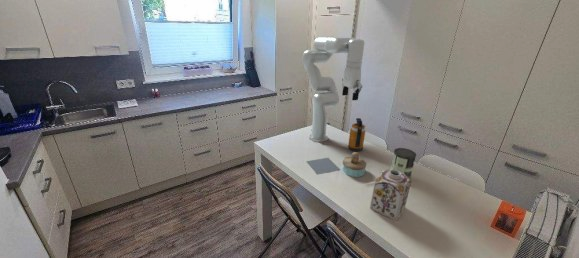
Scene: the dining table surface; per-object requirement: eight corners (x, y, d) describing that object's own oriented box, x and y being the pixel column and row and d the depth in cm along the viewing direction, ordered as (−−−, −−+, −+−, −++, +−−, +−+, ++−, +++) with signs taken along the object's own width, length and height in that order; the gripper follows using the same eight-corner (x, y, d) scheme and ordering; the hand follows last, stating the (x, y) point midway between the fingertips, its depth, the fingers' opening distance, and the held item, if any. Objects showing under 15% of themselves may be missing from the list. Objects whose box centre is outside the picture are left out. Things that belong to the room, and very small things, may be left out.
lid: (338, 160, 135) (339, 150, 132) (357, 156, 139) (358, 147, 136) (351, 171, 124) (352, 161, 122) (371, 167, 128) (372, 157, 126)
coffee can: (407, 172, 134) (413, 148, 129) (412, 183, 125) (418, 158, 120) (387, 169, 136) (392, 146, 131) (390, 180, 127) (396, 156, 121)
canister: (361, 146, 162) (365, 117, 154) (364, 154, 152) (369, 123, 144) (347, 145, 163) (350, 116, 155) (349, 153, 153) (353, 122, 145)
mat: (306, 162, 141) (306, 161, 141) (328, 158, 146) (328, 157, 146) (317, 175, 129) (317, 174, 129) (340, 170, 134) (340, 169, 134)
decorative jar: (379, 195, 115) (386, 161, 108) (405, 207, 109) (414, 171, 102) (368, 209, 107) (375, 173, 100) (396, 222, 100) (405, 184, 93)
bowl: (339, 168, 136) (339, 160, 134) (356, 165, 140) (357, 157, 138) (350, 179, 127) (351, 171, 125) (368, 175, 130) (369, 167, 128)
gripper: (338, 62, 133) (335, 93, 140) (357, 68, 119) (352, 102, 125) (350, 62, 136) (347, 93, 143) (370, 67, 121) (365, 101, 128)
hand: (349, 97), depth 134 cm, fingers open, 9 cm apart
